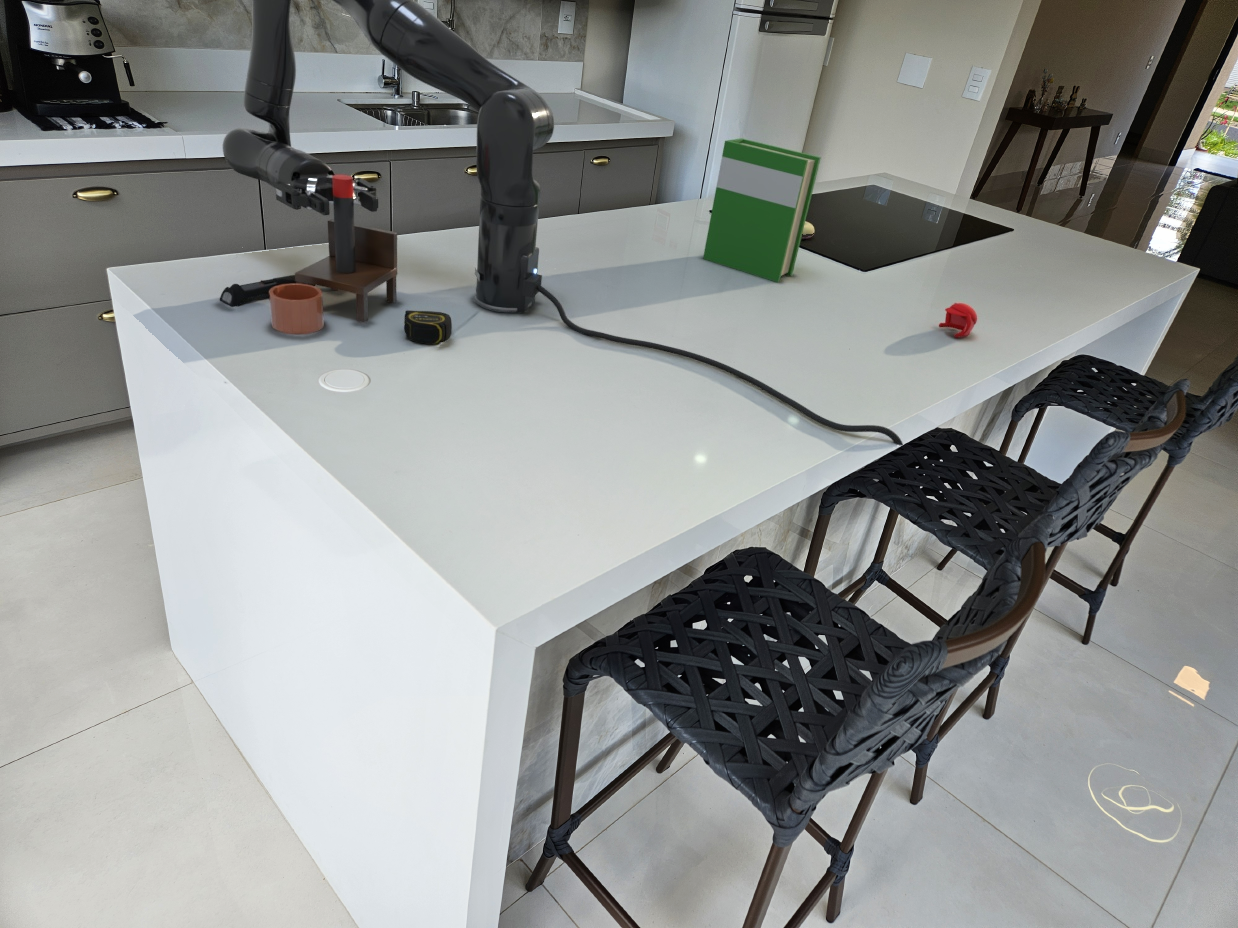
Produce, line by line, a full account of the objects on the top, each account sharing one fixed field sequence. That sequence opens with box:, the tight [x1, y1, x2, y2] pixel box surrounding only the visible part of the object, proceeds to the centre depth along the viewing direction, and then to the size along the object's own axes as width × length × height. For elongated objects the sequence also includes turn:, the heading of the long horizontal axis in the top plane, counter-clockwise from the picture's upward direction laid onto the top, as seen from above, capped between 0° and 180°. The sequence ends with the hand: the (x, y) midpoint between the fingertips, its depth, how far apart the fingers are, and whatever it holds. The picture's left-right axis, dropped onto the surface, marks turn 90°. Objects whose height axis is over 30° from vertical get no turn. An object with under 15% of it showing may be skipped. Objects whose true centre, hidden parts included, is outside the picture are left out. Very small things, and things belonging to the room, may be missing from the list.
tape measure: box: [403, 310, 453, 345], centre depth 123 cm, size 7×7×4 cm
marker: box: [332, 174, 356, 273], centre depth 124 cm, size 3×3×14 cm
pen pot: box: [268, 283, 325, 335], centre depth 120 cm, size 7×7×6 cm
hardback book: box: [702, 137, 822, 283], centre depth 172 cm, size 18×7×24 cm, turn 56°
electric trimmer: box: [219, 274, 317, 308], centre depth 129 cm, size 4×16×3 cm, turn 141°
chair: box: [294, 218, 398, 323], centre depth 128 cm, size 11×11×12 cm
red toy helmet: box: [938, 302, 978, 339], centre depth 157 cm, size 8×6×6 cm
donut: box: [801, 220, 815, 240], centre depth 206 cm, size 10×5×9 cm
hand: (351, 206), depth 121 cm, fingers open, 7 cm apart
